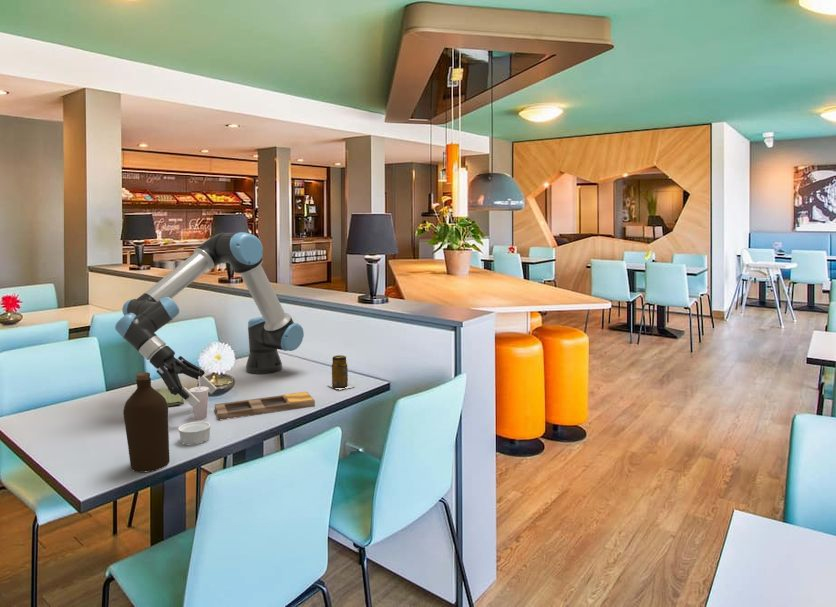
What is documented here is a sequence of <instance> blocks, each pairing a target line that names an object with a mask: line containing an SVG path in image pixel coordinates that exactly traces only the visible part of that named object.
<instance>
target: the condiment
mask: <svg viewBox="0 0 836 607" xmlns="http://www.w3.org/2000/svg"><path fill="white" fill-rule="evenodd" d="M348 369H349V368H348V363H347V356H345V355H342V354H341V355H339V354H338V355H334V356H333V357H332V364H331V385H332V387H333V388H332V389H334V390H336V391H341V390H339V389H335V388H345V387H347V386H348V385H349V384H348V382H349V379H348V376H349V375H348V374H349V373H348Z"/></svg>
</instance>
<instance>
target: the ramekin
mask: <svg viewBox="0 0 836 607" xmlns="http://www.w3.org/2000/svg"><path fill="white" fill-rule="evenodd" d="M177 430H178V433H179V438H180V443H182V444H183V443H184V444H183V445H185V444H196V445H198V444H197V443H201V442H204V441H206V440H207V441H209V439H210V436H211V433H210V432H211V423H209V422H208V421H207V422H206V421H191V422H187V423H184V424H181V425H180V426H179V427H178V429H177ZM207 441H206V442H207ZM204 443H205V442H204ZM201 444H202V443H201Z"/></svg>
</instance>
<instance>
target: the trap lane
mask: <svg viewBox="0 0 836 607" xmlns="http://www.w3.org/2000/svg"><path fill="white" fill-rule="evenodd" d="M315 406H316V400H315V399H314V398H313V397H312V396H311V395H310V393H309V392H307V391H301V392H300V391H299V392H293V393H286V394H280V395H273V396H267V397H265V396H264V397H259V398H251V399H245V400H238V401H231V402H223V403H216V404H214V412H215V414H217V415H216V417H217V420H218V421H221V420H220V419H223V420H228V419H227V418H230V419H235V418H234V417H237V418H241V416H244V417H247V416H248V415H250V416H256V415H255V414H257V415H263V414H262V413H264V414H269V413H268V412H270V413H274V412H275V411H277V412H283V410H284V411H289V410H290V411H291V410H296V409H303V408H309V407H315ZM275 413H276V412H275ZM248 417H249V416H248Z"/></svg>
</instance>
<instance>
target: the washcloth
mask: <svg viewBox="0 0 836 607" xmlns="http://www.w3.org/2000/svg"><path fill="white" fill-rule="evenodd" d="M154 389H155V388H154ZM172 389H173V388H172ZM155 390H156V391H157V392H158V393H160V394H161V395H162V396H163V397H164V398H165V399H166V402H167V404H168V407H174V406H179V405H180V406H181V405H185V399H184V398H182V397H181V396H180V395H179V394H177V395H174V394H171V393H170V391H169V389H168V388H167V387H166V388H162V389H159V388H156V389H155Z"/></svg>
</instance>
